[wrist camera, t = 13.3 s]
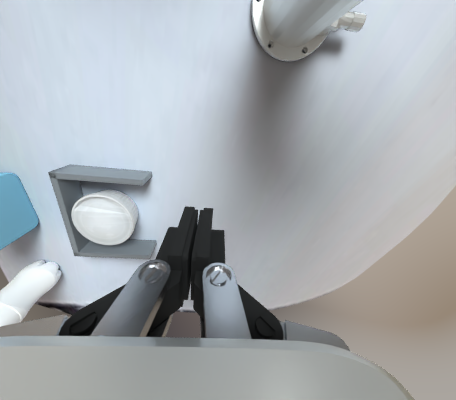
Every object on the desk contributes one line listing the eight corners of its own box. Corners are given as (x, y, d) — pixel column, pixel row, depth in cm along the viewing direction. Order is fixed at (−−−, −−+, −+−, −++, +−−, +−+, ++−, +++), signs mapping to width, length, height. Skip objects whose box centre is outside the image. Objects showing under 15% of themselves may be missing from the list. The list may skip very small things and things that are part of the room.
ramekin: (121, 175, 36) (106, 185, 32) (153, 218, 41) (145, 232, 36) (75, 198, 38) (56, 210, 33) (112, 237, 43) (99, 253, 38)
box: (151, 171, 36) (142, 180, 32) (156, 244, 44) (149, 259, 39) (69, 164, 35) (48, 172, 30) (89, 240, 42) (74, 256, 38)
